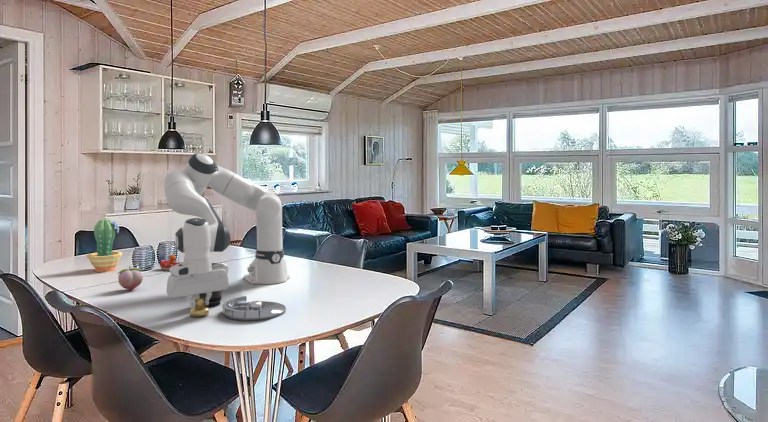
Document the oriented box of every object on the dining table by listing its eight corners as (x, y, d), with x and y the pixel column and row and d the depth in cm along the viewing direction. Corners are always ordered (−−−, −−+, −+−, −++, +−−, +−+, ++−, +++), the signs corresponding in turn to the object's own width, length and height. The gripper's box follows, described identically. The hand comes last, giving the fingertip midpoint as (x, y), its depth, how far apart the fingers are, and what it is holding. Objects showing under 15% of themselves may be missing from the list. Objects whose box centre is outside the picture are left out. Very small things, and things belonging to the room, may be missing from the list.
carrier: (213, 310, 182) (212, 301, 181) (268, 300, 195) (268, 291, 195) (238, 325, 165) (237, 315, 164) (297, 313, 178) (297, 304, 178)
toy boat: (165, 267, 257) (165, 252, 256) (187, 268, 255) (186, 253, 255) (157, 271, 249) (156, 255, 249) (179, 271, 248) (179, 256, 247)
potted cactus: (112, 273, 242) (110, 221, 240) (80, 273, 243) (77, 220, 240) (129, 266, 258) (127, 217, 256) (98, 266, 258) (96, 217, 256)
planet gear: (188, 313, 176) (187, 297, 176) (205, 310, 180) (204, 295, 179) (193, 317, 172) (193, 301, 171) (211, 314, 175) (211, 298, 175)
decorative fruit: (138, 286, 217) (137, 263, 216) (146, 289, 211) (145, 266, 210) (114, 290, 210) (113, 266, 209) (121, 293, 204) (120, 269, 204)
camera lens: (202, 302, 193) (201, 262, 192) (224, 301, 194) (223, 262, 192) (196, 308, 185) (195, 267, 183) (219, 307, 186) (218, 266, 184)
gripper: (224, 261, 183) (225, 299, 184) (164, 268, 170) (166, 309, 172) (231, 264, 178) (232, 302, 180) (170, 271, 165) (171, 313, 167)
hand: (199, 306), depth 175 cm, fingers closed on planet gear, 3 cm apart
